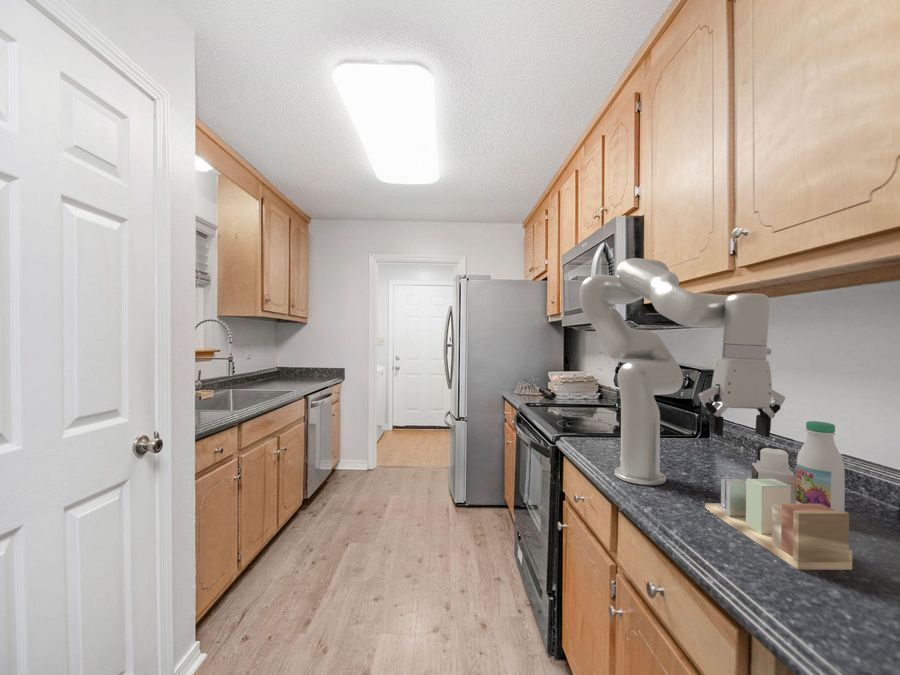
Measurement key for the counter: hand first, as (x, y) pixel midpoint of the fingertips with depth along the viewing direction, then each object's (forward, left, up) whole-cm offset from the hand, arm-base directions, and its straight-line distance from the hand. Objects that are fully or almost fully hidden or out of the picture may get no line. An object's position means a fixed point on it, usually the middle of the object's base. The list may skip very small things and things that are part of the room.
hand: (739, 434), depth 87 cm
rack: (+7, +1, -18) cm, 19 cm away
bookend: (0, 0, -16) cm, 16 cm away
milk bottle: (-1, +18, -18) cm, 25 cm away
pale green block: (+7, 0, -16) cm, 18 cm away
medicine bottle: (-11, +16, -18) cm, 26 cm away
